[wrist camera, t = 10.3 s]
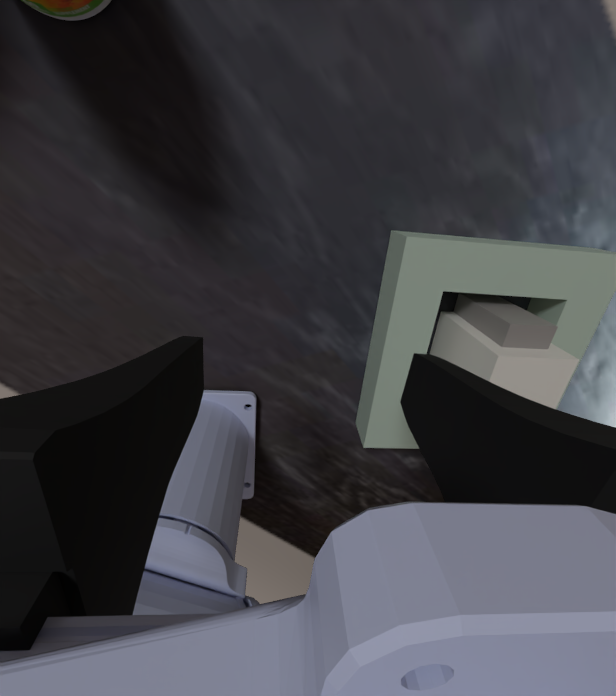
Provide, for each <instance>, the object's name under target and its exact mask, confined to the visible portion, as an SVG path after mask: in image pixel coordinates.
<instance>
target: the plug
mask: <svg viewBox="0 0 616 696" xmlns="http://www.w3.org/2000/svg"><path fill="white" fill-rule="evenodd" d="M557 328H558V326H556V325H554V324H552V323H550V322H548V321H546V320H544V319H542V318H540V317H538V316H536V315H534V314H532V313H530V312H528V311H526V310H524V309H522V308H520V307H518V306H516V305H514V304H513V303H511V302H509V301H507V300H505V299H503V298H501V297H499V296H497V295H483V294H467V293H459V294H458V298H457V301H456V305H455V308H454V312H446V311H441V313H440V317H439V320H438V324H437V328H436V331H435V335H434V339H433V343H432V346H431V350H430V354H431V355H434V356H437V357H440V358H442V359H444V360H446V361H449V362H451V363H453V364H455V365H457V366H459V367H461V368H463V369H465V370H467V371H469V372H471V373H473V374H475V375H477V376H479V377H481V378H483V379H485V380H487V381H489V382H491V383H493V384H495V385H497V386H500V387H502V388H504V389H506V390H508V391H511V392H513V393H515V394H517V395H520V396H522V397H524V398H527V399H529V400H532V401H535V402H537V403H540V404H542V405H545V406H548V407H550V408H553V409H556V407H557V404H558V402H559V400H560V398H561V396H562V394H563V392H564V390H565V388H566V386H567V384H568V382H569V380H570V378H571V376H572V374H573V372H574V370H575V368H576V366H577V364H578V362H579V359H577V358H576V357H574V356H572V355H571V354H569V353H567V352H565V351H564V350H562V349H560V348H559V347H557V346H555V345H553V344H552V343H551V341H552V339H553V337H554V335H555V332H556V330H557Z"/></svg>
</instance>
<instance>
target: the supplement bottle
mask: <svg viewBox="0 0 616 696" xmlns="http://www.w3.org/2000/svg"><path fill="white" fill-rule="evenodd" d="M21 1H23V2H24V3H26V4H27V5H29V6H30V7H32V8H34V9H35V10H37V11H39V12H41V13H43V14H45V15H48V16H51V17H54V18H57V19H62V20H68V21H75V20H83V19H87V18H90V17H92V16H94V15H96V14H98V13H99V12H101V11H102V10H103V9H104V8H105V7H106V6H107V5H108V4H109V3H110V2H111V0H21Z"/></svg>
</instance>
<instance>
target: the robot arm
mask: <svg viewBox="0 0 616 696" xmlns="http://www.w3.org/2000/svg"><path fill="white" fill-rule="evenodd" d="M400 403H401V406H402V410H403V413H404V416H405V419H406V422H407V424H408V427H409V429H410V431H411V433H412V435H413V437H414V439H415V441H416V443H417V445H418V447H419V449H420V451H421V453H422V454H423V456H424V458H425V460H426V462H427V464H428V466H429V468H430V470H431V472H432V474H433V476H434V478H435V480H436V482H437V484H438V486H439V488H440V490H441V493H442V495H443V498H444V500H445V502H403V503H397V504H391V505H385V506H379V507H373V508H368V509H366V510H365V511H363V512H361V513H360V514H358V515H356V516H354V517H353V518H351V519H349V520H348V521H346V522H344V523H342V524H341V525H339V526H337V527H336V528H335V529H334V530H333V531H332V532H331V533H330V535H329V536H328V538H327V540H326V541H325V543H324V545H323V546H322V548H321V549H320V551H319V553H318V554H317V556H316V558H315V560H314V565H313V570H312V575H311V580H310V585H309V588H308V591H307V593H306V594H305V595H300V596H296V597H291V598H286V599H282V600H277V601H273V602H269V603H264V604H259V602H257V601H256V600H255V599H254V598H252V597H249V596H245V589H246V578H247V568H245V567H243V566H241V565H239V564H237V563H235V562H234V560H235V552H236V551H235V550H236V543H237V536H238V528H239V520H240V512H241V504H242V499H250V498H252V497H253V495H254V473H255V434H256V395H255V394H254V393H252V392H247V391H218V390H204V375H203V337H190V336H182V337H179V338H177V339H175V340H172V341H170V342H168V343H166V344H164V345H162V346H160V347H158V348H156V349H154V350H152V351H150V352H148V353H146V354H144V355H142V356H140V357H138V358H136V359H133V360H131V361H129V362H127V363H124V364H122V365H120V366H117V367H115V368H113V369H110V370H107V371H105V372H102V373H99V374H96V375H93V376H90V377H87V378H84V379H81V380H78V381H75V382H71V383H67V384H63V385H59V386H56V387H52V388H48V389H44V390H40V391H36V392H32V393H27V394H22V395H18V396H13V397H8V398H3V399H0V696H616V428H615V427H611V426H607V425H604V424H600V423H597V422H593V421H590V420H587V419H584V418H580V417H577V416H574V415H571V414H568V413H565V412H562V411H559V410H556V409H553V408H550V407H548V406H545V405H542V404H540V403H537V402H535V401H532V400H529V399H527V398H524V397H522V396H520V395H517V394H515V393H513V392H511V391H508V390H506V389H504V388H502V387H500V386H497V385H495V384H493V383H491V382H489V381H487V380H485V379H483V378H481V377H479V376H477V375H475V374H473V373H471V372H469V371H467V370H465V369H463V368H461V367H459V366H457V365H455V364H453V363H451V362H449V361H446V360H444V359H442V358H440V357H437V356H434V355H431V354H418V353H414V354H413V358H412V362H411V365H410V369H409V372H408V376H407V379H406V383H405V387H404V390H403V394H402V397H401V401H400ZM246 404H250V405H251V407H246V406H245V405H246ZM247 483H248V484H247Z"/></svg>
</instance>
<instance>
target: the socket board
mask: <svg viewBox="0 0 616 696" xmlns="http://www.w3.org/2000/svg"><path fill="white" fill-rule="evenodd" d="M443 291H447V292H461V293H476V294H490V295H505V296H519V297H532V298H531V300H530V303H529V305H528V308H527V310H526V311H528V312H530V313H532V314H534V315H536V316H538V317H540V318H542V319H544V320H546V321H548V322H550V323H552V324H554V325H556V326H558V328H557V330H556V332H555V335H554V337H553V339H552V341H551V343H552V344H553V345H555V346H557V347H559V348H560V349H562V350H564V351H565V352H567V353H569V354H571V355H572V356H574V357H576V358H577V359H579V362H578V364H577V366H576V368H575V370H574V372H573V374H572V376H571V378H570V380H569V382H568V384H567V386H566V388H565V390H564V392H563V394H562V396H561V398H560V400H559V402H558V404H557V407H558V405H559V403H560V401H561V399H562V397H563V395H564V393H565V391H566V389H567V387H568V385H569V383H570V381H571V379H572V377H573V375H574V373H575V371H576V369H577V367H578V365H579V363H580V361H581V359H582V357H583V355H584V353H585V351H586V349H587V347H588V345H589V343H590V341H591V339H592V337H593V335H594V333H595V331H596V329H597V327H598V325H599V323H600V321H601V319H602V317H603V315H604V313H605V311H606V309H607V307H608V305H609V303H610V301H611V299H612V297H613V295H614V293H615V291H616V253H615V252H610V251H605V250H600V249H595V248H587V247H576V246H564V245H553V244H541V243H530V242H518V241H507V240H495V239H484V238H472V237H461V236H449V235H438V234H426V233H415V232H403V231H392V230H391V235H390V240H389V246H388V251H387V256H386V262H385V267H384V273H383V278H382V283H381V289H380V294H379V300H378V305H377V310H376V316H375V321H374V327H373V332H372V337H371V343H370V348H369V354H368V359H367V364H366V370H365V375H364V380H363V386H362V391H361V397H360V402H359V407H358V413H357V418H356V426H357V429H358V432H359V435H360V438H361V442H362V445H363V448H406V449H419V447H418V445H417V443H416V441H415V439H414V437H413V435H412V433H411V431H410V429H409V427H408V424H407V422H406V419H405V416H404V413H403V410H402V406H401V403H400V401H401V397H402V394H403V390H404V387H405V383H406V379H407V376H408V372H409V369H410V365H411V362H412V358H413V354H414V353H418V354H427V350H428V346H429V343H430V339H431V335H432V331H433V328H434V324H435V320H436V317H437V313H438V309H439V305H440V302H441V298H442V294H443ZM557 407H556V409H557Z"/></svg>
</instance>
